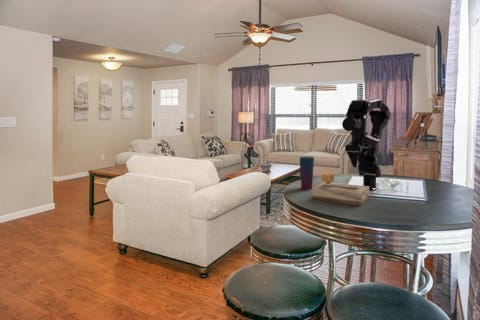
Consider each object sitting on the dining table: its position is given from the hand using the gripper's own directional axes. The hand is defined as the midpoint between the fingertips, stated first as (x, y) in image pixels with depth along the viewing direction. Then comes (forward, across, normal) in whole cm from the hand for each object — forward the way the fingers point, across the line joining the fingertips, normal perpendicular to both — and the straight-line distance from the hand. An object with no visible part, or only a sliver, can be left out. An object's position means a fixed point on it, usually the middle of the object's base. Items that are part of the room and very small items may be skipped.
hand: (357, 165), depth 157 cm
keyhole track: (+13, -10, +4) cm, 17 cm away
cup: (+13, +1, +24) cm, 27 cm away
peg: (+12, -10, +10) cm, 18 cm away
